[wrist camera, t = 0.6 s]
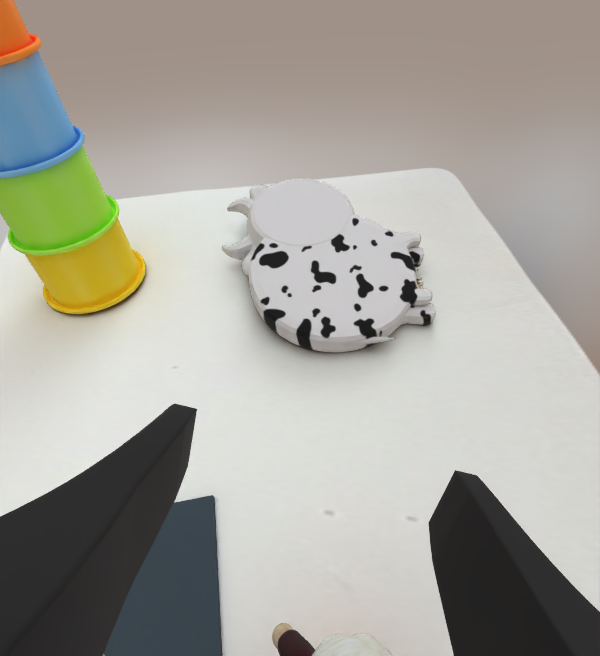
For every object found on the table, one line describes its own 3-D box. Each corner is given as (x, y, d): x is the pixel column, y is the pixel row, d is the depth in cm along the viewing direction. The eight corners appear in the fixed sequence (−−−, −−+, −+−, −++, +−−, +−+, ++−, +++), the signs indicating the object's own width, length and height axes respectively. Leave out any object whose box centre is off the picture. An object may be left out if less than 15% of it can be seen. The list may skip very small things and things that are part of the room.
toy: (402, 203, 52) (233, 202, 52) (410, 169, 48) (227, 168, 48) (433, 366, 39) (211, 365, 39) (448, 338, 36) (202, 337, 35)
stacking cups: (26, 314, 43) (-436, -298, 17) (74, 248, 50) (-203, -263, 24) (124, 320, 42) (-211, -329, 16) (161, 252, 48) (-33, -283, 22)
